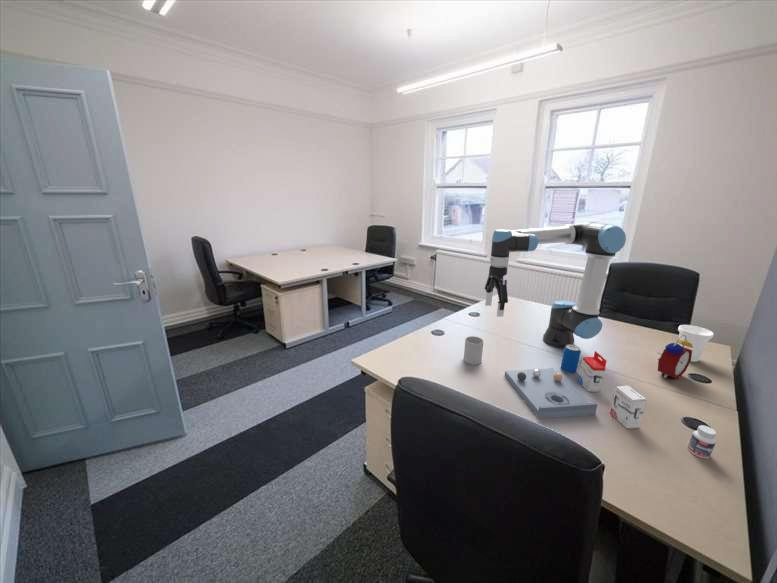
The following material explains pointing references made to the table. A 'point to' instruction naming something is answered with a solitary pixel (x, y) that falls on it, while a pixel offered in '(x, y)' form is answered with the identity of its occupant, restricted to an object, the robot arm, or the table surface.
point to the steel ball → (536, 373)
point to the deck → (550, 395)
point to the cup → (695, 339)
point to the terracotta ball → (558, 377)
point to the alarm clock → (675, 358)
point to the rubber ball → (521, 376)
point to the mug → (473, 350)
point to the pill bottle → (702, 441)
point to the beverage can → (570, 359)
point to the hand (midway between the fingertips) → (493, 310)
